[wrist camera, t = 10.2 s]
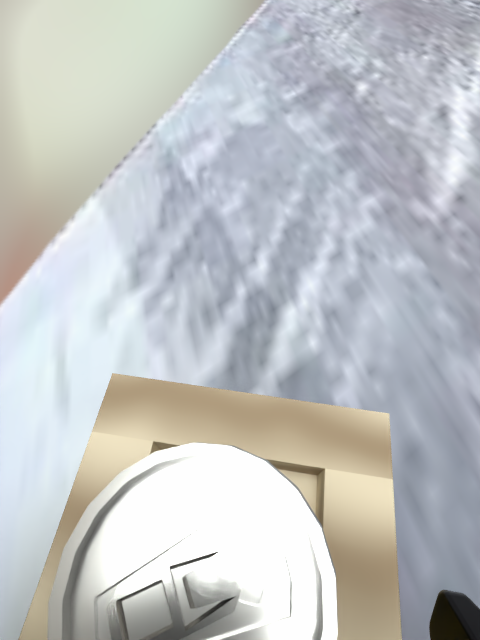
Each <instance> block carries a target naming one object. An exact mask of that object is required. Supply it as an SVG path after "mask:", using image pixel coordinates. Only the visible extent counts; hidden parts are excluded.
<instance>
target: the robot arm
mask: <svg viewBox="0 0 480 640" xmlns="http://www.w3.org/2000/svg"><path fill="white" fill-rule="evenodd" d="M429 630H430V638H431V640H480V609H479V608H478V607H477V606H476V605H475V604H474V603H473V602H472V601H471V600H470V599H469V598H468V597H467V596H466V595H464V594H462V593H459V592H453V591H448V590H442V591H440V592H439V594H438V597H437V600H436V603H435V606H434V610H433V613H432V616H431V620H430V626H429Z"/></svg>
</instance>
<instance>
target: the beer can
mask: <svg viewBox="0 0 480 640" xmlns="http://www.w3.org/2000/svg"><path fill="white" fill-rule="evenodd" d="M337 629H338V615H337V588H336V571H335V567H334V564H333V561H332V558H331V554H330V551H329V548H328V544H327V541H326V538H325V534H324V531H323V528H322V525H321V523H320V521H319V520H318V518H317V517H316V515H315V513H314V512H313V510H312V509H311V507H310V505H309V504H308V502H307V501H306V499H305V497H304V496H303V494H302V493H301V491H300V489H299V488H298V487H297V486H296V485H295V484H294V483H293V482H292V481H291V480H289V479H288V478H287V477H286V476H285V475H284V474H283V473H281V472H280V471H279V470H278V469H277V468H276V467H275V466H274V465H272V464H271V463H270V462H269V461H268V460H266V459H263V458H261V457H259V456H256V455H254V454H252V453H250V452H247V451H245V450H243V449H240V448H238V447H236V446H233V445H221V444H210V443H199V442H197V443H189V444H185V445H181V446H177V447H172V448H168V449H164V450H160V451H156V452H154V453H152V454H150V455H149V456H147V457H145V458H144V459H142V460H140V461H138V462H137V463H135V464H133V465H132V466H130V467H128V468H126V469H125V470H123V471H121V472H120V473H119V474H118V475H117V476H116V477H115V478H114V479H113V480H112V481H111V482H110V483H109V484H108V485H107V486H106V487H105V488H104V489H103V490H102V491H101V492H100V493H99V494H98V496H97V497H96V498H95V499H94V500H93V501H92V502H91V503H90V504H89V505H88V506H87V508H86V510H85V512H84V513H83V515H82V517H81V519H80V520H79V522H78V524H77V526H76V528H75V529H74V531H73V533H72V535H71V536H70V538H69V540H68V542H67V543H66V545H65V547H64V549H63V552H62V555H61V559H60V562H59V566H58V570H57V573H56V577H55V580H54V584H53V587H52V591H51V595H50V598H49V602H48V634H47V640H336V639H337V635H338V630H337Z"/></svg>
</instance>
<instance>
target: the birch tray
mask: <svg viewBox="0 0 480 640" xmlns="http://www.w3.org/2000/svg"><path fill="white" fill-rule="evenodd" d="M197 442H199V443H210V444H221V445H233V446H236V447H238V448H240V449H243V450H245V451H247V452H250V453H252V454H254V455H256V456H259V457H261V458H263V459H266V460H268V461H269V462H270V463H271V464H272V465H274V466H275V467H276V468H277V469H278V470H279V471H280V472H281V473H283V474H284V475H285V476H286V477H287V478H288V479H289V480H291V481H292V482H293V483H294V484H295V485H296V486H297V487H298V488H299V489H300V491H301V493H302V494H303V496H304V497H305V499H306V501H307V502H308V504H309V505H310V507H311V509H312V510H313V512H314V513H315V515H316V517H317V518H318V520H319V521H320V523H321V525H322V528H323V531H324V534H325V538H326V541H327V544H328V548H329V551H330V554H331V558H332V561H333V564H334V567H335V571H336V588H337V615H338V629H337V630H338V635H337V639H336V640H402V636H401V618H400V600H399V582H398V565H397V547H396V529H395V511H394V493H393V475H392V457H391V439H390V421H389V414H388V413H381V412H374V411H367V410H361V409H354V408H347V407H340V406H333V405H326V404H319V403H313V402H306V401H299V400H292V399H285V398H278V397H271V396H265V395H258V394H251V393H244V392H237V391H230V390H223V389H217V388H210V387H203V386H196V385H189V384H182V383H175V382H169V381H162V380H155V379H148V378H141V377H134V376H127V375H120V374H114V373H112V376H111V379H110V382H109V385H108V388H107V390H106V393H105V396H104V399H103V402H102V405H101V407H100V410H99V413H98V416H97V419H96V422H95V424H94V427H93V430H92V433H91V436H90V438H89V441H88V444H87V447H86V450H85V453H84V455H83V458H82V461H81V464H80V467H79V470H78V472H77V475H76V478H75V481H74V484H73V487H72V489H71V492H70V495H69V498H68V501H67V504H66V506H65V509H64V512H63V515H62V518H61V521H60V523H59V526H58V529H57V532H56V535H55V538H54V540H53V543H52V546H51V549H50V552H49V555H48V557H47V560H46V563H45V566H44V569H43V572H42V574H41V577H40V580H39V583H38V586H37V589H36V591H35V594H34V597H33V600H32V603H31V606H30V608H29V611H28V614H27V617H26V620H25V622H24V625H23V628H22V631H21V634H20V637H19V639H18V640H47V634H48V602H49V598H50V595H51V591H52V587H53V584H54V580H55V577H56V573H57V570H58V566H59V562H60V559H61V555H62V552H63V549H64V547H65V545H66V543H67V542H68V540H69V538H70V536H71V535H72V533H73V531H74V529H75V528H76V526H77V524H78V522H79V520H80V519H81V517H82V515H83V513H84V512H85V510H86V508H87V506H88V505H89V504H90V503H91V502H92V501H93V500H94V499H95V498H96V497H97V496H98V494H99V493H100V492H101V491H102V490H103V489H104V488H105V487H106V486H107V485H108V484H109V483H110V482H111V481H112V480H113V479H114V478H115V477H116V476H117V475H118V474H119V473H120V472H121V471H123V470H125V469H126V468H128V467H130V466H132V465H133V464H135V463H137V462H138V461H140V460H142V459H144V458H145V457H147V456H149V455H150V454H152V453H154V452H156V451H160V450H164V449H168V448H172V447H177V446H181V445H185V444H189V443H197Z"/></svg>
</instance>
